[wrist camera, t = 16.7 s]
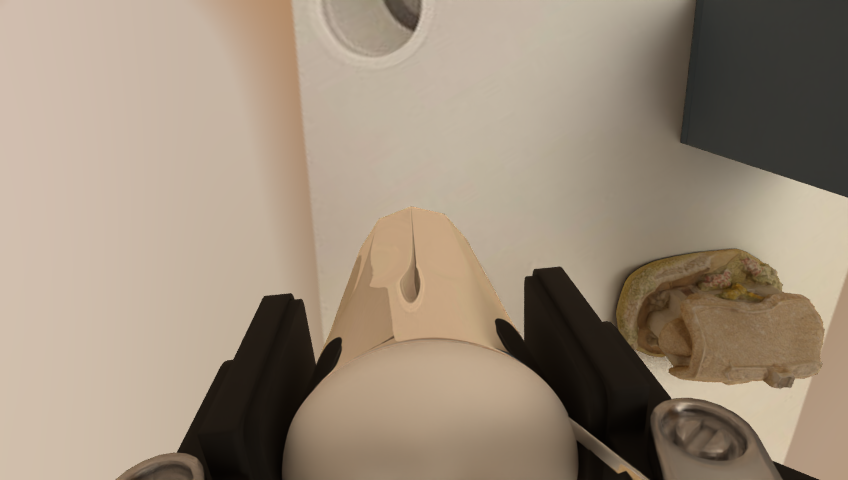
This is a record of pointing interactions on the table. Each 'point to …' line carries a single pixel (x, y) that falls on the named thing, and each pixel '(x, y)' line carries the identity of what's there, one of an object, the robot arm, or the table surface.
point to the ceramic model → (721, 319)
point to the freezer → (772, 87)
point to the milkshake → (430, 375)
